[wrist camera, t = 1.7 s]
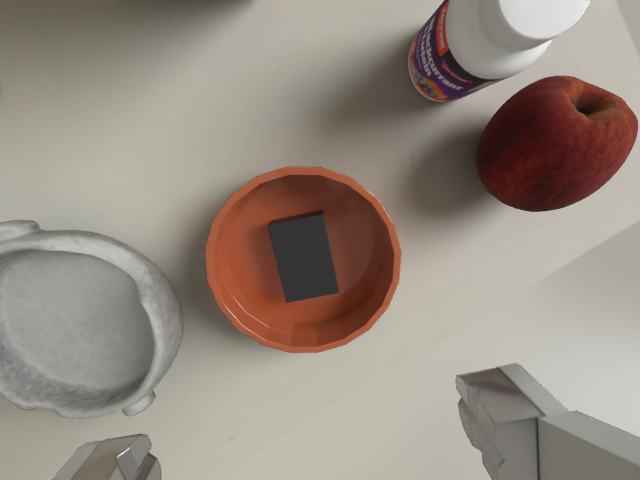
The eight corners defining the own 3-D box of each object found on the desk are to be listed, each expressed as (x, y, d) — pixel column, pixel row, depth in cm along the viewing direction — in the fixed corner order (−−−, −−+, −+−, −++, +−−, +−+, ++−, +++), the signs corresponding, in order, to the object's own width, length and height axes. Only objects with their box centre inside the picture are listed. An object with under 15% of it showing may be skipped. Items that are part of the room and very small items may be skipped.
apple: (576, 114, 22) (715, 87, 15) (529, 215, 24) (632, 239, 16) (483, 82, 22) (578, 35, 14) (442, 188, 23) (506, 199, 16)
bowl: (248, 142, 22) (234, 137, 18) (411, 199, 24) (431, 205, 20) (205, 299, 25) (185, 323, 21) (353, 342, 26) (360, 373, 23)
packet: (271, 220, 23) (267, 225, 21) (322, 209, 23) (323, 213, 21) (288, 292, 25) (286, 303, 23) (337, 282, 25) (339, 292, 23)
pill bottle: (392, 47, 21) (456, -48, 12) (462, 1, 21) (589, -139, 11) (427, 119, 22) (512, 85, 13) (495, 76, 22) (636, 8, 12)
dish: (23, 202, 23) (-55, 211, 18) (206, 251, 24) (180, 272, 19) (11, 365, 26) (-58, 411, 21) (174, 401, 27) (144, 452, 23)
